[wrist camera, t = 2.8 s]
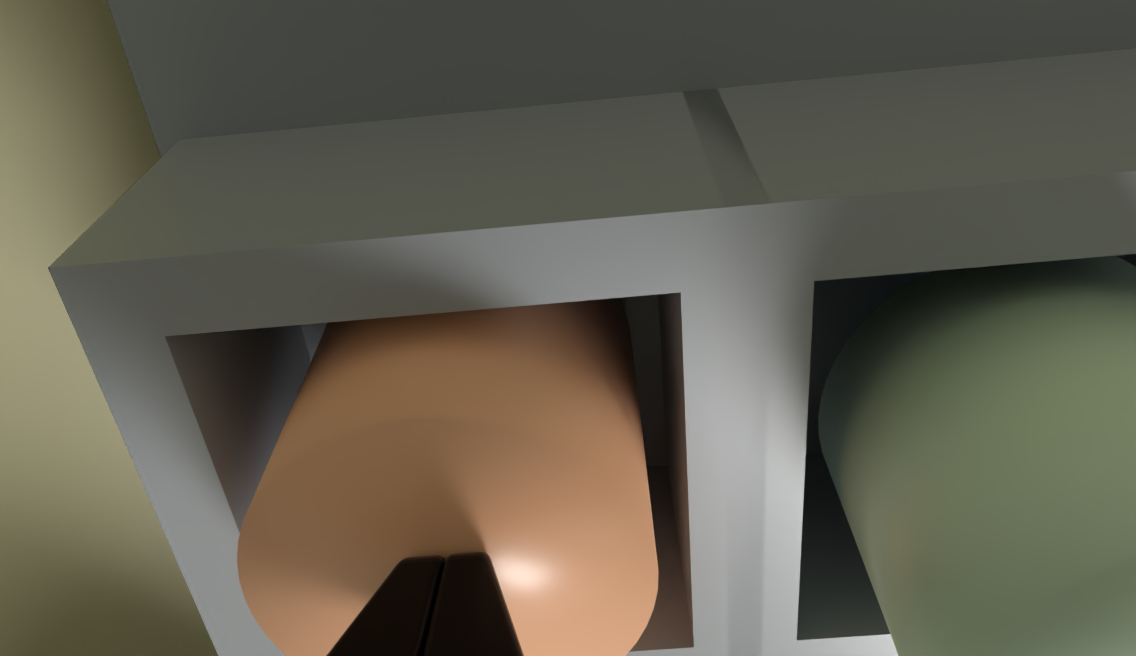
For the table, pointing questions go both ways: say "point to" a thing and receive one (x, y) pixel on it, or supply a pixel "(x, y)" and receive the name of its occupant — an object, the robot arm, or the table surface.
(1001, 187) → the grey compartment tray
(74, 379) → the table surface
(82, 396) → the table surface
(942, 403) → the sage button
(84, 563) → the table surface
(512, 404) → the terracotta button
